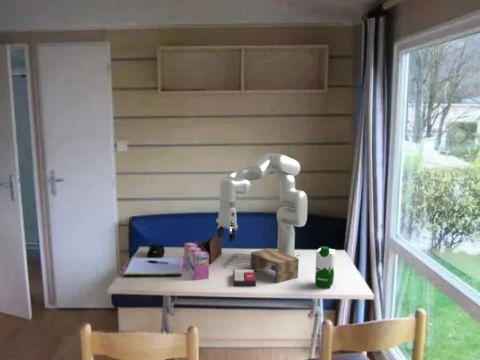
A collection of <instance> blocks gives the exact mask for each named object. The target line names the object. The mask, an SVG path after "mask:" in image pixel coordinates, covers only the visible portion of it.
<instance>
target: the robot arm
mask: <svg viewBox="0 0 480 360" xmlns="http://www.w3.org/2000/svg"><path fill="white" fill-rule="evenodd" d="M271 171H273V172H274V173H275V174H276V176H277V178H278V179H279V201H280V203H281V204H282V205H285V206H282V207H280V208H278V210H277V211H276V221H277V232H278V233H277V251H280V252H282V253H285V254H287V255H290V256H293V257H295V258H298V257H301V254H300V252H295V239H296V238H295V237H296V232H295V231H296V230H295V227H298V228H301V227H304V226H305V225H306V223H307V220H308V194H306V192H305V191H303V190H299V189H297V188H296V178H295V176H298V175H299V174H300V171H301V165H300V162H298V160H296V159H294V158H291V157H289V156H287V155H285V154H281V153H274V152H271V153H269V152H268V153H266V154H264V155H263V156H261V157H260V158H259V159H257V161H254V163H252V164H250V165H246V166H244V167H240V168H239V169H236V170H234V171H232V172H231V173H230V174H229V175H227V176H226V177H225V178H223V179H221V180H220V182H219V183H220V184H219V186H220V187H219V209H218V214H217V215H218V217H217V218H216V219H215V222H216V226H217V227H216V228H217V234H218V237H221V238H223V237H224V236H225V234H224V233H225V229H227V230H228V232H229V233H228V242H229V243H231V242H235V241H236V233H237V231H238V229H239V225H238V221H237V209H236V195H237V194H246V193H248V192H249V191H250V190H251V187H252V185H251V182H250V181H256V180H261V179H263V178H264V177H265V176H266V175H268V173H270V172H271ZM288 206H289V207H288Z"/></svg>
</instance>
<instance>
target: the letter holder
mask: <svg viewBox="0 0 480 360" xmlns="http://www.w3.org/2000/svg"><path fill="white" fill-rule="evenodd" d="M222 241H223V240H222V237H218V233H216V235H214V236H213V237H211V238H209V239H207V240H204V241H202V242H201V243H199V244H200V245H201V246H202V247H203V248H204V249H205V250H206V251H207V252H208V253H209V266H210V265H212V264H213V263H214V262H215V261H217V259H218V258H219V257H220V256H222V255H223V254H222V253H223V252H222V250H223V249H222V246H223V245H222Z"/></svg>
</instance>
